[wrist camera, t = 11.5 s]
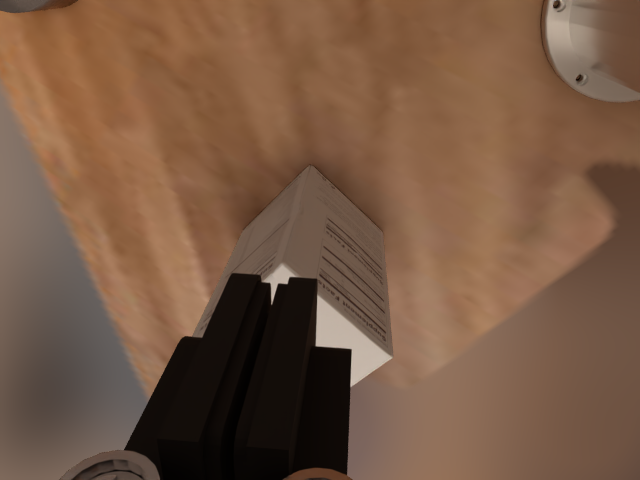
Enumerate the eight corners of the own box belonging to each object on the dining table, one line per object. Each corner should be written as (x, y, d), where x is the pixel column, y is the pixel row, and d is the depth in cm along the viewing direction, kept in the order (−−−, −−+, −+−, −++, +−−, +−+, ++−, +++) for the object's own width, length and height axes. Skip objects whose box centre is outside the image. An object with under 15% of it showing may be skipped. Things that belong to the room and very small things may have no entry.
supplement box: (313, 293, 48) (289, 435, 33) (239, 231, 46) (178, 355, 31) (387, 231, 44) (398, 360, 30) (311, 160, 42) (282, 262, 27)
